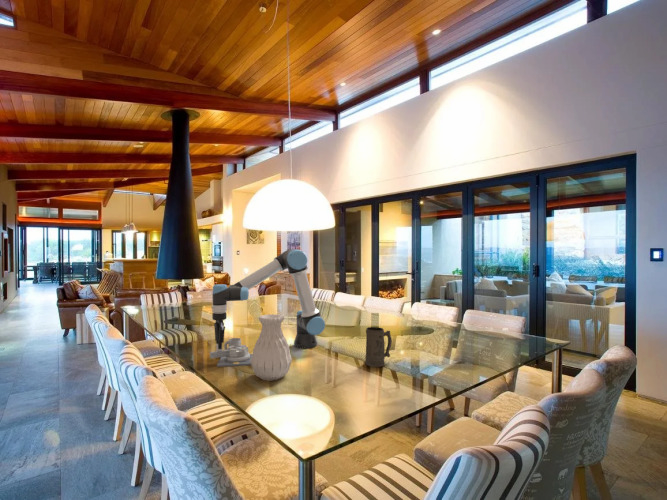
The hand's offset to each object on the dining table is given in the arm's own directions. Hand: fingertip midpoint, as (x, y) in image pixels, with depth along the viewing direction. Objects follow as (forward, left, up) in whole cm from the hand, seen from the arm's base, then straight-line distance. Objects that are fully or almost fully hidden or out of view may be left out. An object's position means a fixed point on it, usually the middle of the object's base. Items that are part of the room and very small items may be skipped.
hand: (219, 354), depth 200 cm
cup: (-5, -15, -5) cm, 17 cm away
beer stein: (-88, +14, -5) cm, 89 cm away
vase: (-29, +26, -5) cm, 40 cm away
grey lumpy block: (-5, 0, -1) cm, 5 cm away
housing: (-10, -2, -5) cm, 11 cm away
